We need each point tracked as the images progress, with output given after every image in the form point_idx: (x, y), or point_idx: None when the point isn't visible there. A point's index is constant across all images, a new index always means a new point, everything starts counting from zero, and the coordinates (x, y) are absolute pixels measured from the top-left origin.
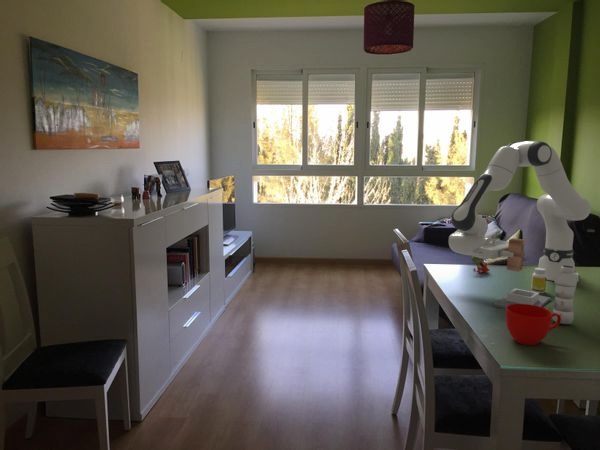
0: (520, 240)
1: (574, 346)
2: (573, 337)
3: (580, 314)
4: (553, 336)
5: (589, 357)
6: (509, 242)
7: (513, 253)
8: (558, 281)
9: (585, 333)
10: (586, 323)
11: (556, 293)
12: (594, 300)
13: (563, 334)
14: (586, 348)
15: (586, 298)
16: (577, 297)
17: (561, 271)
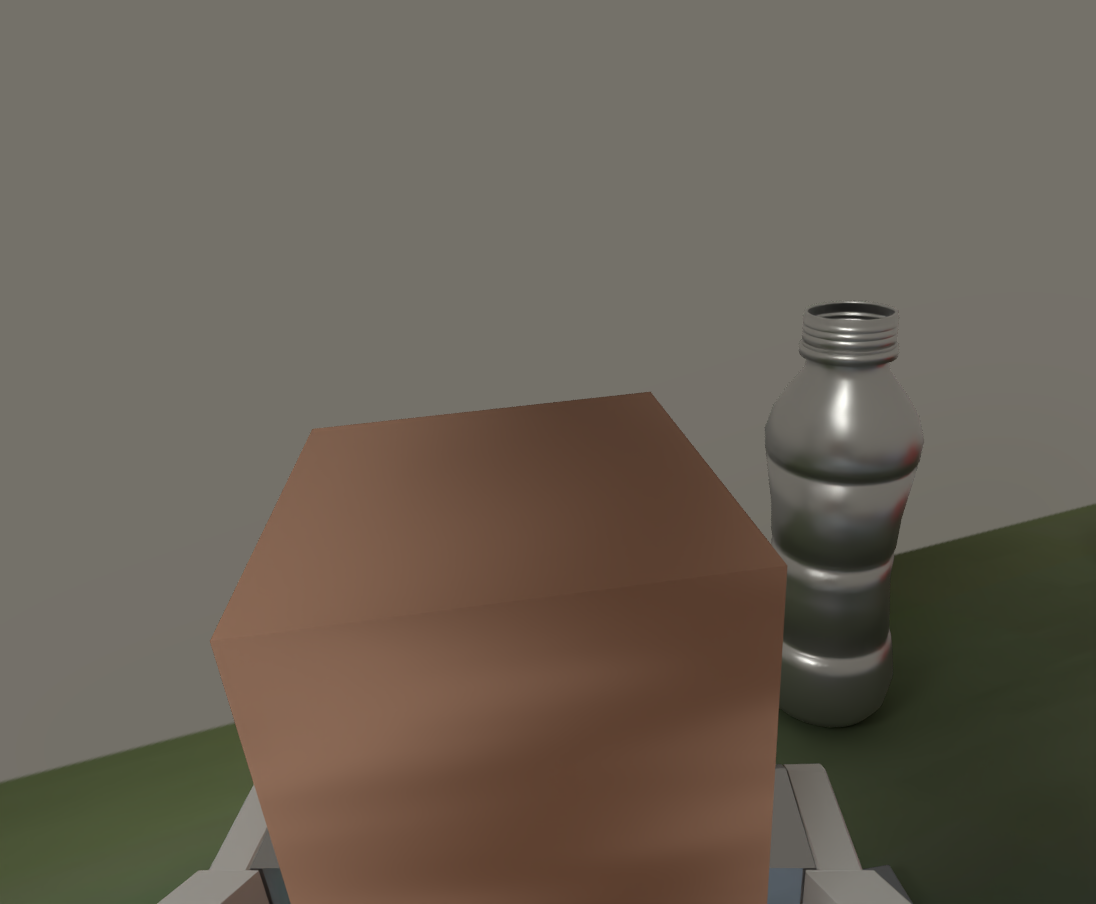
0: (550, 419)
1: (1059, 567)
2: (961, 600)
3: None
4: (1079, 644)
5: (1084, 517)
6: (772, 658)
7: (796, 765)
8: (921, 432)
9: None
10: None
11: (896, 534)
12: (83, 761)
13: (984, 632)
14: (1014, 544)
15: (37, 811)
16: (27, 864)
17: (896, 356)
